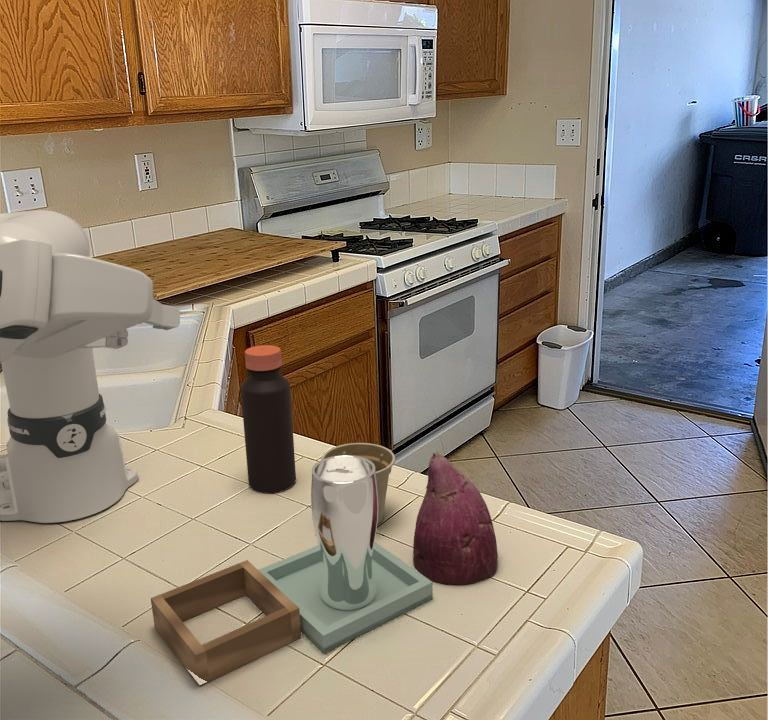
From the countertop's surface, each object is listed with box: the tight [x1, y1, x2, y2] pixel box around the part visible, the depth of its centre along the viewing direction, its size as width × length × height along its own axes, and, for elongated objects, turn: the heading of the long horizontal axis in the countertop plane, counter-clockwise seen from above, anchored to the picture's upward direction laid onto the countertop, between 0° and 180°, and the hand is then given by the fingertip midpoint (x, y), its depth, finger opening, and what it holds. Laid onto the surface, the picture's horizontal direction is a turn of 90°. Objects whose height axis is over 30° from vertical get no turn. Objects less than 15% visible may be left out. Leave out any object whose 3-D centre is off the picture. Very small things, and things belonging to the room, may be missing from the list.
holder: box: [150, 559, 302, 683], centre depth 77 cm, size 11×11×4 cm
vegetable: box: [412, 449, 499, 586], centre depth 87 cm, size 10×10×15 cm
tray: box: [258, 542, 434, 655], centre depth 83 cm, size 14×14×2 cm
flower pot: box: [320, 442, 396, 525], centre depth 97 cm, size 9×9×9 cm
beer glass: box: [310, 455, 378, 610], centre depth 80 cm, size 7×7×15 cm
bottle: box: [240, 344, 297, 494], centre depth 105 cm, size 7×7×20 cm
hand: (149, 329), depth 69 cm, fingers open, 8 cm apart
